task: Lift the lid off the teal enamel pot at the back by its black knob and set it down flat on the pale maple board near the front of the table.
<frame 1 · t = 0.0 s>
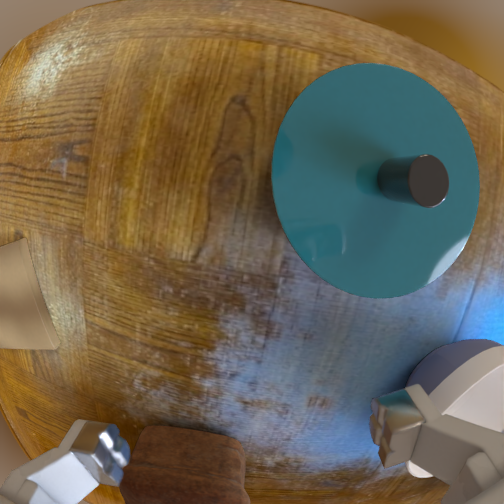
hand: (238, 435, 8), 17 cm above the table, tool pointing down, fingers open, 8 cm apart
bowl: (436, 375, 27), on the table
pot lid: (391, 179, 15), point 7 cm above the table, touching pot
bread: (196, 477, 31), on the table
board: (11, 297, 25), on the table
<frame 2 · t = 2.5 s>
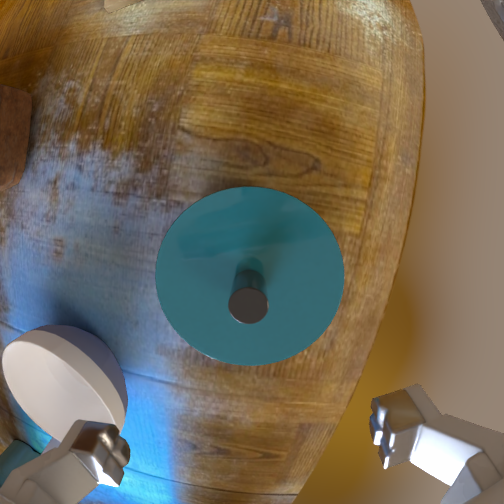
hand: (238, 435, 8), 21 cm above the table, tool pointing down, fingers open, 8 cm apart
flower pot: (33, 456, 41), on the table
bowl: (89, 359, 32), on the table
pot lid: (249, 283, 21), point 7 cm above the table, touching pot
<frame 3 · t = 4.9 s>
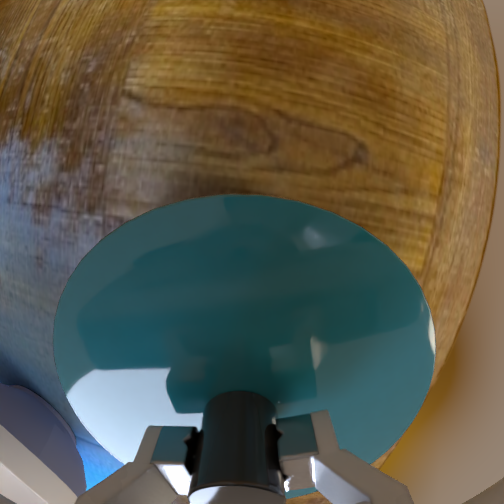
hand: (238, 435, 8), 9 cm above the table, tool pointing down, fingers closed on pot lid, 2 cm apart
bowl: (40, 418, 20), on the table
pot lid: (241, 404, 9), point 8 cm above the table, touching gripper, pot
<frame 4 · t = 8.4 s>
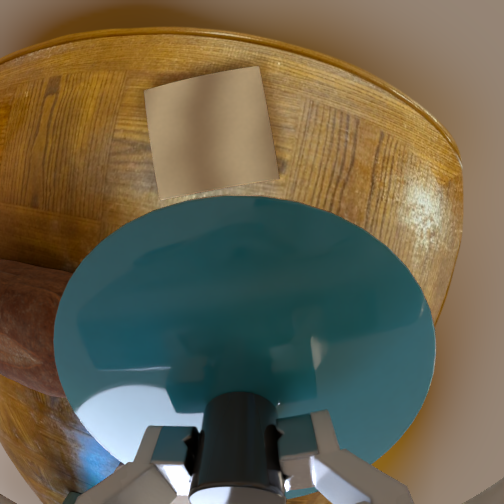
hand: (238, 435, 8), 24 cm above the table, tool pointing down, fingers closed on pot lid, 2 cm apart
flower pot: (88, 502, 48), on the table
pot lid: (241, 404, 9), point 22 cm above the table, touching gripper
bread: (32, 300, 33), on the table
board: (210, 132, 28), on the table
when the fingers open (3 cm above the table, at t = 12.3 s): pot lid stays where it is, resting on board.
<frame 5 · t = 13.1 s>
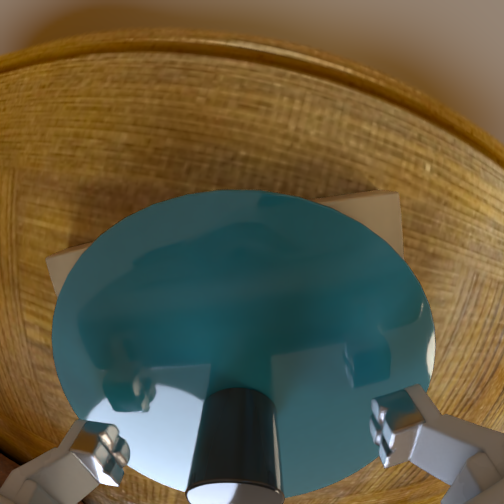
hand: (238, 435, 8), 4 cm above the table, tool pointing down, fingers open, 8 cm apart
pot lid: (240, 401, 9), point 2 cm above the table, touching board
bread: (7, 466, 16), on the table
board: (241, 368, 11), on the table
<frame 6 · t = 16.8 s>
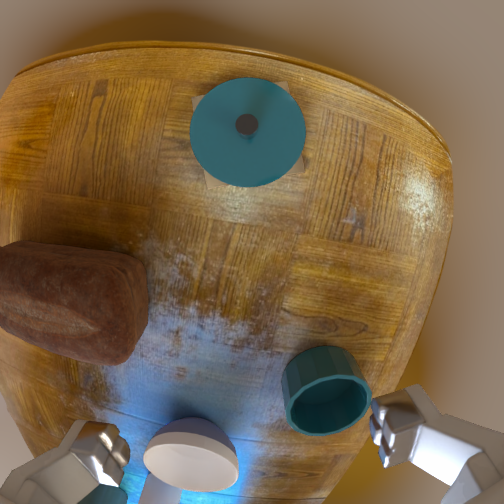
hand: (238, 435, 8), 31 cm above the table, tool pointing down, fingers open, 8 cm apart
flower pot: (109, 488, 55), on the table
pot: (320, 377, 43), on the table
alcohol: (165, 479, 52), on the table
bowl: (197, 431, 47), on the table
pot lid: (247, 130, 33), point 2 cm above the table, touching board
bread: (75, 282, 40), on the table
board: (247, 134, 35), on the table
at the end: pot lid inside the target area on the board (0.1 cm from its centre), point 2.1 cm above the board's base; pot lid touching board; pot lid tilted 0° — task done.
